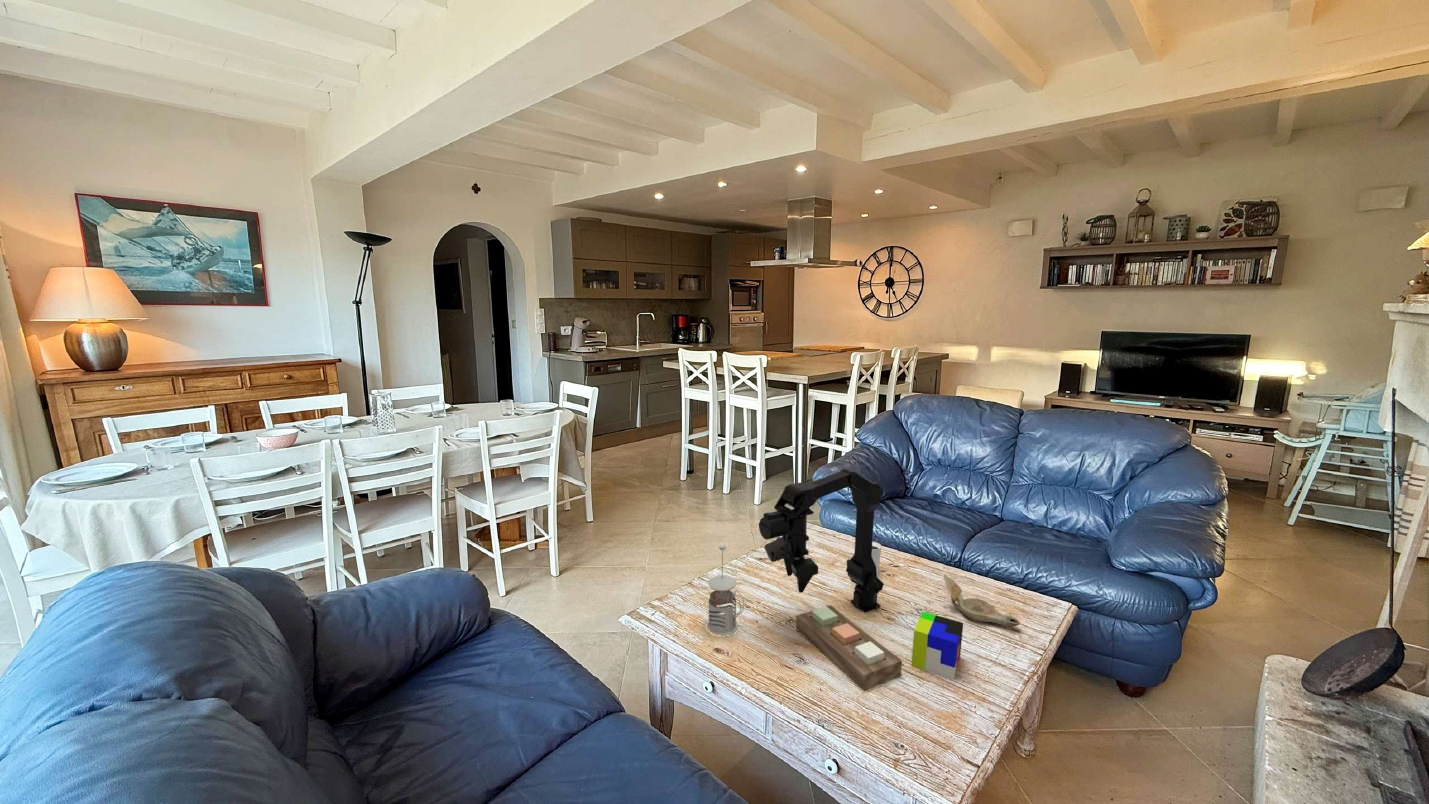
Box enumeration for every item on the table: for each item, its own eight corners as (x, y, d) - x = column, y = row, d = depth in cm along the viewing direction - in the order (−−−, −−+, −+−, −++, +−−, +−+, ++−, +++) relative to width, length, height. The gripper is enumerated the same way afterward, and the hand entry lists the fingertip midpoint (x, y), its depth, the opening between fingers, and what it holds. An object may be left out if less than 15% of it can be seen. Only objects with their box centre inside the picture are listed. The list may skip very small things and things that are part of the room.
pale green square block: (826, 616, 158) (826, 606, 157) (837, 625, 153) (837, 615, 153) (811, 620, 155) (812, 611, 155) (822, 630, 151) (823, 620, 151)
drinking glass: (880, 578, 185) (882, 550, 183) (860, 576, 186) (861, 548, 184) (878, 569, 191) (880, 541, 189) (858, 567, 192) (860, 540, 191)
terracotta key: (846, 633, 150) (847, 623, 149) (859, 643, 145) (859, 632, 145) (831, 638, 148) (832, 627, 147) (844, 648, 143) (844, 638, 143)
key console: (830, 617, 162) (830, 605, 161) (900, 675, 137) (901, 660, 136) (796, 628, 157) (796, 615, 156) (863, 690, 132) (863, 675, 131)
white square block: (869, 651, 142) (870, 641, 141) (883, 663, 137) (884, 652, 137) (854, 657, 140) (854, 646, 139) (867, 669, 135) (868, 658, 135)
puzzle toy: (953, 680, 136) (956, 643, 134) (911, 665, 141) (914, 630, 139) (960, 657, 144) (963, 622, 142) (920, 645, 149) (922, 611, 147)
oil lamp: (946, 599, 172) (949, 569, 170) (1022, 625, 158) (1026, 593, 156) (936, 610, 166) (938, 579, 164) (1014, 639, 152) (1017, 606, 150)
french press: (718, 613, 164) (718, 534, 160) (751, 626, 157) (752, 544, 153) (698, 629, 156) (697, 546, 152) (732, 644, 150) (733, 557, 145)
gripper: (757, 520, 158) (757, 571, 161) (778, 549, 140) (777, 605, 143) (794, 516, 161) (793, 566, 163) (819, 544, 143) (818, 600, 146)
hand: (794, 583), depth 154 cm, fingers open, 9 cm apart
